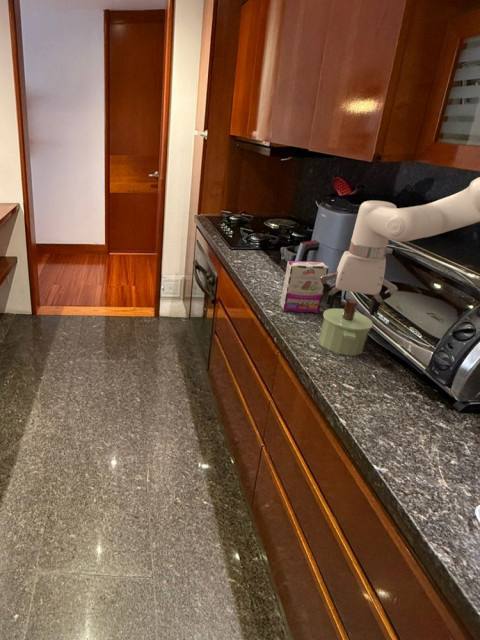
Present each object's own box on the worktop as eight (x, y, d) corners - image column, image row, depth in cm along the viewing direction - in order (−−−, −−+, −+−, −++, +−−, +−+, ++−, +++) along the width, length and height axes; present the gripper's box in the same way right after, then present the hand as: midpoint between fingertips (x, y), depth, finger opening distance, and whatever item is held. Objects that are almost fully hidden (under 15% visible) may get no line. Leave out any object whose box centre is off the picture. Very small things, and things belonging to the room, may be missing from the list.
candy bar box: (313, 306, 131) (324, 261, 125) (318, 313, 126) (330, 267, 120) (278, 304, 133) (287, 259, 127) (282, 311, 128) (292, 265, 122)
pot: (357, 336, 114) (364, 310, 110) (367, 366, 100) (375, 338, 97) (316, 328, 118) (322, 304, 114) (320, 356, 104) (327, 329, 101)
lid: (367, 316, 109) (373, 296, 106) (375, 336, 99) (382, 314, 96) (320, 308, 113) (325, 289, 111) (324, 327, 103) (329, 306, 101)
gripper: (403, 250, 98) (385, 310, 104) (326, 242, 105) (313, 298, 111) (412, 259, 92) (391, 322, 98) (329, 250, 98) (314, 310, 105)
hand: (350, 310), depth 105 cm, fingers open, 9 cm apart
